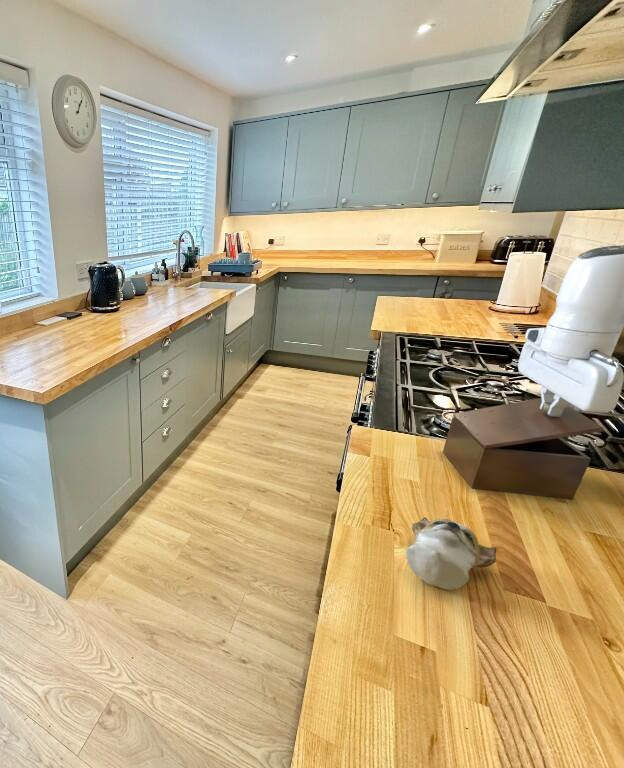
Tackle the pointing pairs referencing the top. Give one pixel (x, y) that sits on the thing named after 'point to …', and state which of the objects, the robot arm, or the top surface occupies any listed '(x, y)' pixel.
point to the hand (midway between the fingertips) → (549, 413)
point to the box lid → (522, 424)
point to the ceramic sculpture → (446, 553)
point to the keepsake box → (517, 465)
